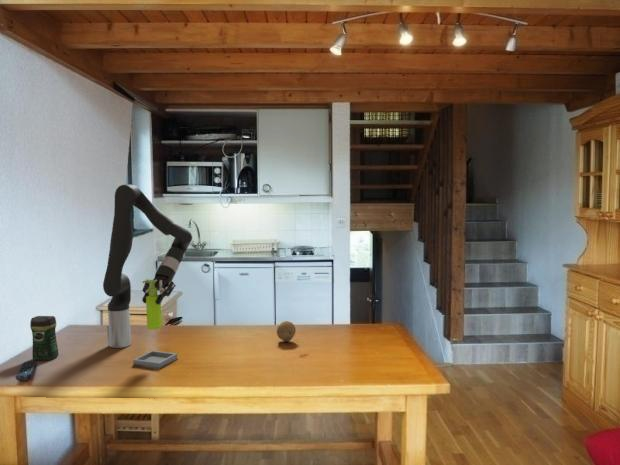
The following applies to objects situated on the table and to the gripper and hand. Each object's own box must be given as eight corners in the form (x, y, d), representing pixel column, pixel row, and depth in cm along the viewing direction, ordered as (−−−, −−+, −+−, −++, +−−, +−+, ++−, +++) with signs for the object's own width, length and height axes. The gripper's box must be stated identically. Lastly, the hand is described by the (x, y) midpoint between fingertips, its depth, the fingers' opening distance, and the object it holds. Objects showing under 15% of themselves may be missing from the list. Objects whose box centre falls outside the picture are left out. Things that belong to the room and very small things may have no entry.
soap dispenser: (146, 325, 203) (144, 279, 201) (163, 324, 204) (161, 278, 202) (143, 329, 198) (140, 281, 195) (160, 329, 198) (157, 281, 196)
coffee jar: (61, 355, 212) (59, 313, 210) (50, 361, 204) (47, 318, 202) (41, 354, 213) (38, 313, 211) (29, 361, 205) (26, 318, 203)
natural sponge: (293, 345, 221) (292, 324, 220) (274, 344, 222) (274, 323, 221) (297, 339, 229) (297, 319, 228) (279, 338, 231) (279, 318, 230)
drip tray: (133, 365, 199) (133, 359, 198) (152, 355, 210) (152, 350, 210) (159, 369, 194) (159, 363, 194) (177, 359, 205) (177, 353, 205)
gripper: (149, 263, 208) (131, 296, 198) (177, 265, 203) (160, 299, 193) (157, 273, 213) (140, 306, 203) (185, 275, 208) (169, 309, 198)
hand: (150, 302), depth 198 cm, fingers closed on soap dispenser, 6 cm apart
